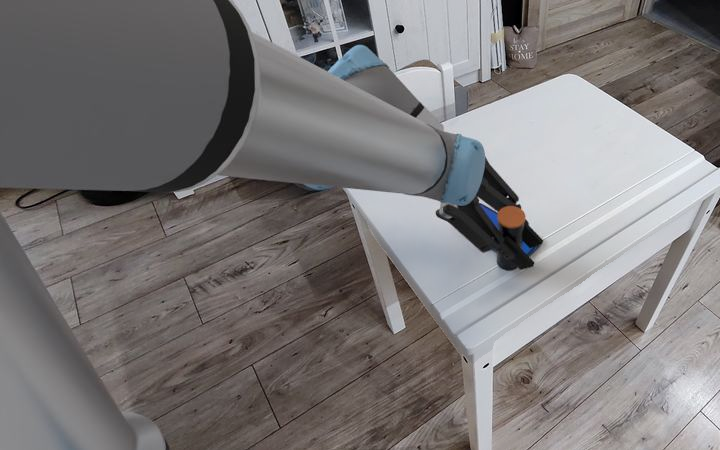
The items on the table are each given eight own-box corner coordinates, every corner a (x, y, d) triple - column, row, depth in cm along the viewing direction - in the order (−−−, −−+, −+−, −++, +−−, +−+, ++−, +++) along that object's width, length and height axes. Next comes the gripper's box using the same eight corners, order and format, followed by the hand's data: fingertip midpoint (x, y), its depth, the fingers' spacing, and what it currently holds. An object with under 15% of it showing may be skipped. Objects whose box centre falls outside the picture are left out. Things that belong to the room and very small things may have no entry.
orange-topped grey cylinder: (495, 270, 74) (496, 225, 66) (497, 250, 77) (498, 205, 69) (521, 272, 74) (525, 227, 66) (521, 252, 77) (525, 206, 69)
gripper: (437, 126, 71) (531, 224, 80) (382, 197, 60) (497, 302, 69) (467, 103, 66) (564, 211, 75) (413, 177, 55) (533, 293, 64)
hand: (532, 255), depth 72 cm, fingers closed on orange-topped grey cylinder, 4 cm apart
